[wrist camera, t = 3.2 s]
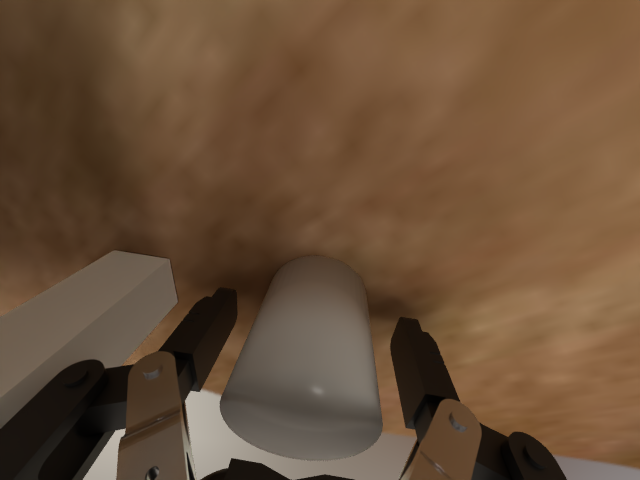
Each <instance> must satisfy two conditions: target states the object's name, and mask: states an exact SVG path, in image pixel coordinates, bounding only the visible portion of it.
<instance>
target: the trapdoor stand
mask: <svg viewBox="0 0 640 480" xmlns="http://www.w3.org/2000/svg"><path fill="white" fill-rule="evenodd" d="M177 303H178V300H177V295H176V290H175V284H174V279H173V274H172V269H171V264H170V259H167V258H160V257H154V256H148V255H141V254H135V253H129V252H122V251H116V250H113V251H112V252H110V253H108V254H107V255H105V256H103V257H101V258H100V259H98V260H96V261H95V262H93V263H91V264H90V265H88V266H86V267H84V268H83V269H81V270H79V271H78V272H76V273H74V274H72V275H71V276H69V277H67V278H66V279H64V280H62V281H60V282H59V283H57V284H55V285H54V286H52V287H50V288H49V289H47V290H45V291H43V292H42V293H40V294H38V295H37V296H35V297H33V298H31V299H30V300H28V301H26V302H25V303H23V304H21V305H19V306H18V307H16V308H14V309H13V310H11V311H9V312H8V313H6V314H4V315H2V316H1V317H0V429H1V428H2V427H3V426H4V425H5V424H6V423H7V422H8V421H9V420H10V419H11V418H12V417H13V416H14V415H15V414H16V413H17V412H18V411H19V410H20V409H21V408H23V407H24V406H25V405H26V404H27V403H28V402H29V401H30V400H31V399H32V398H33V397H34V396H35V395H36V394H37V393H38V392H39V391H40V390H41V389H42V388H43V387H44V386H45V385H46V384H47V383H48V382H49V381H51V380H52V379H53V378H54V377H55V376H56V375H57V374H58V373H59V372H61V371H62V370H63V369H65V368H67V367H68V366H70V365H72V364H74V363H77V362H80V361H83V360H89V359H95V360H99V361H101V362H102V363H103V365H104V367H105V368H112V367H119V366H122V364H123V363H124V362H125V361H126V360H127V359H128V358H129V357H130V355H131V354H132V353H133V352H134V351H135V350H136V349H137V348H138V346H139V345H140V344H141V343H142V342H143V341H144V340H145V339H146V337H147V336H148V335H149V334H150V333H151V332H152V331H153V330H154V328H155V327H156V326H157V325H158V324H159V323H160V322H161V321H162V319H163V318H164V317H165V316H166V315H167V314H168V313H169V312H170V310H171V309H172V308H173V307H174V306H175V305H176V304H177Z"/></svg>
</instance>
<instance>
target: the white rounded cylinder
mask: <svg viewBox="0 0 640 480" xmlns="http://www.w3.org/2000/svg"><path fill="white" fill-rule="evenodd" d="M220 411H221V415H222V417H223V419H224V421H225V422H226V424H227V425H228V427H229V428H230V429H231V430H232V431H233V432H234V433H235V434H237V435H238V436H239V437H240V438H242V439H243V440H245V441H246V442H248V443H250V444H251V445H253V446H255V447H257V448H259V449H262V450H265V451H267V452H270V453H273V454H276V455H279V456H283V457H288V458H293V459H300V460H309V461H328V460H337V459H343V458H347V457H351V456H354V455H357V454H359V453H361V452H363V451H365V450H367V449H368V448H370V447H371V446H372V445H373V444H374V443H375V442H376V441H377V440H378V438H379V436H380V435H381V432H382V426H383V423H382V415H381V407H380V399H379V391H378V383H377V375H376V367H375V359H374V351H373V343H372V335H371V327H370V319H369V311H368V303H367V295H366V289H365V286H364V283H363V281H362V279H361V278H360V277H359V275H358V274H357V273H356V272H355V271H354V270H353V269H352V268H351V267H349V266H348V265H346V264H345V263H343V262H341V261H339V260H336V259H333V258H330V257H325V256H304V257H300V258H297V259H294V260H291V261H290V262H288V263H286V264H285V265H283V266H282V267H281V268H280V269H279V270H278V271H277V272H276V274H275V275H274V277H273V279H272V282H271V284H270V286H269V288H268V291H267V293H266V295H265V298H264V300H263V302H262V305H261V307H260V309H259V311H258V314H257V316H256V318H255V321H254V323H253V325H252V327H251V330H250V332H249V334H248V337H247V339H246V341H245V344H244V346H243V348H242V350H241V353H240V355H239V357H238V360H237V362H236V364H235V367H234V369H233V371H232V373H231V376H230V378H229V380H228V383H227V385H226V387H225V390H224V392H223V394H222V396H221V400H220Z"/></svg>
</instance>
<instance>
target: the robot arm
mask: <svg viewBox="0 0 640 480" xmlns="http://www.w3.org/2000/svg"><path fill="white" fill-rule="evenodd" d="M236 319H237V292H236V290H234V289H227V288H221V287H220V288H218V290H217V291H216V292H215V294H214V295H213V296H212V297H207V296H206V297H204V298H203V299H201V300H200V301H198V302H197V303H196V304H195V305H194V306H193V308H192V309H191V310H190V311H189V314H187V315H186V316H185V318H184V319H183V321H181V323H180V324H179V325H178V327H177V328H176V329H175V330H174V332H173V333H172V334H171V335H170V337H169V338H168V339H167V340H166V342H165V343H164V344H163V346H162V347H161V348H160V349H159V350H158V351H157V352H154V353H151V354H148V355H146V356H144V357H143V358H141V359H140V360H139V361H137V362H136V363H135V364H133V365H127V366H119V367H112V368H105V367H104V365H103V363H102V362H101V361H99V360H95V359H89V360H83V361H80V362H77V363H74V364H72V365H70V366H68V367H67V368H65V369H63V370H62V371H61V372H59V373H58V374H57V375H56V376H55V377H54V378H53V379H52V380H51V381H49V382H48V383H47V384H46V385H45V386H44V387H43V388H42V389H41V390H40V391H39V392H38V393H37V394H36V395H35V396H34V397H33V398H32V399H31V400H30V401H29V402H28V403H27V404H26V405H25V406H24V407H23V408H21V409H20V410H19V411H18V412H17V413H16V414H15V415H14V416H13V417H12V418H11V419H10V420H9V421H8V422H7V423H6V424H5V425H4V426H3V427H2V428H1V429H0V480H83V478H84V476H85V475H86V474H87V472H88V471H89V469H90V468H91V466H92V464H93V463H94V462H95V460H96V459H97V457H98V456H99V454H100V453H101V451H102V450H103V448H104V447H105V445H106V444H107V442H108V441H109V439H110V438H111V436H112V435H113V433H114V432H115V430H120V429H125V428H126V431H125V435H124V436H123V437H121V439H120V443H119V449H118V464H117V478H116V480H196V473H195V466H194V461H193V455H192V449H191V442H190V435H189V427H188V420H187V413H186V405H185V400H186V398H187V396H188V394H189V393H190V391H196V392H200V390H201V388H202V386H203V385H204V383H205V381H206V379H207V377H208V375H209V373H210V371H211V369H212V367H213V365H214V364H215V362H216V360H217V358H218V356H219V354H220V352H221V350H222V348H223V346H224V344H225V342H226V341H227V339H228V337H229V335H230V333H231V331H232V329H233V327H234V325H235V323H236ZM390 350H391V356H392V361H393V366H394V371H395V376H396V381H397V386H398V391H399V396H400V401H401V406H402V411H403V416H404V421H405V426H406V428H409V429H415V430H416V434H417V440H416V441H415V444H414V446H413V448H412V450H411V452H410V454H409V457H408V459H407V461H406V463H405V465H404V468H403V470H402V472H401V474H400V476H399V478H398V480H567V479H566V477H565V475H564V474H563V472H562V470H561V468H560V467H559V465H558V463H557V461H556V460H555V458H554V457H553V456H552V454H551V453H550V452H549V451H548V450H547V448H546V447H544V446H543V445H542V444H541V443H540V442H539V441H538V440H536V439H535V438H533V437H532V436H530V435H528V434H526V433H523V432H513V433H512V434H511V435H510V436H509V437H507V436H505V435H503V434H501V433H499V432H497V431H494V430H492V429H490V428H488V427H486V426H484V425H483V424H481V423H479V422H478V420H477V418H476V417H475V415H474V414H473V413H472V411H471V410H470V409H469V408H467V407H466V406H465V405H464V404H462V403H461V402H460V400H459V398H458V395H457V393H456V390H455V388H454V385H453V383H452V381H451V378H450V376H449V373H448V371H447V368H446V366H445V365H444V361H443V358H442V356H441V355H440V351H439V349H438V346H437V344H436V342H435V341H434V339H433V338H432V337H431V336H430V335H429V333H427V332H422V330H421V327H420V324H419V322H418V320H417V319H411V318H405V317H400V318H399V320H398V323H397V325H396V328H395V330H394V333H393V336H392V338H391V344H390ZM201 480H290V479H288V478H286V477H284V476H283V475H281V474H279V473H278V472H276V471H274V470H272V469H271V468H269V467H267V466H265V465H263V464H262V463H256V462H249V461H245V460H239V459H233V458H231V461H230V464H229V467H228V468H226V469H222V470H219V471H216V472H214V473H212V474H210V475H207V476H206V477H204V478H202V479H201ZM297 480H354V479H348V478H342V477H336V476H331V475H319V476H314V477H308V478H303V479H297Z"/></svg>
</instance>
